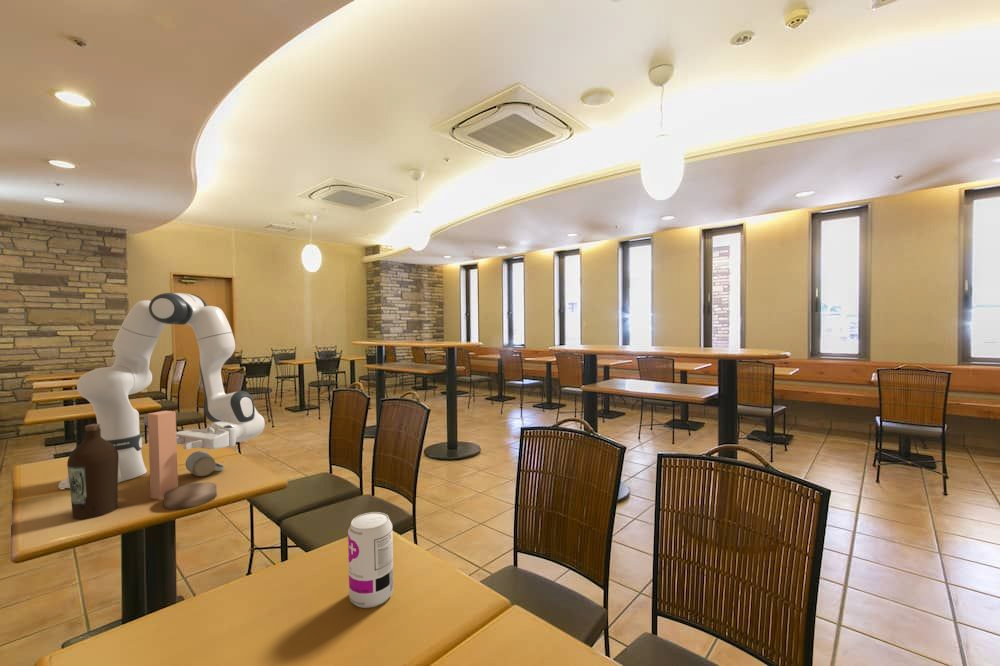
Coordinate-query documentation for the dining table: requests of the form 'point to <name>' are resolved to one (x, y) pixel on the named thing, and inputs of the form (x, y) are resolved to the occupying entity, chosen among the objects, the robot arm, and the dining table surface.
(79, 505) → the olive oil
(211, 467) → the ceramic mug
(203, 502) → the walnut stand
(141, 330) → the robot arm
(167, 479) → the terracotta post
